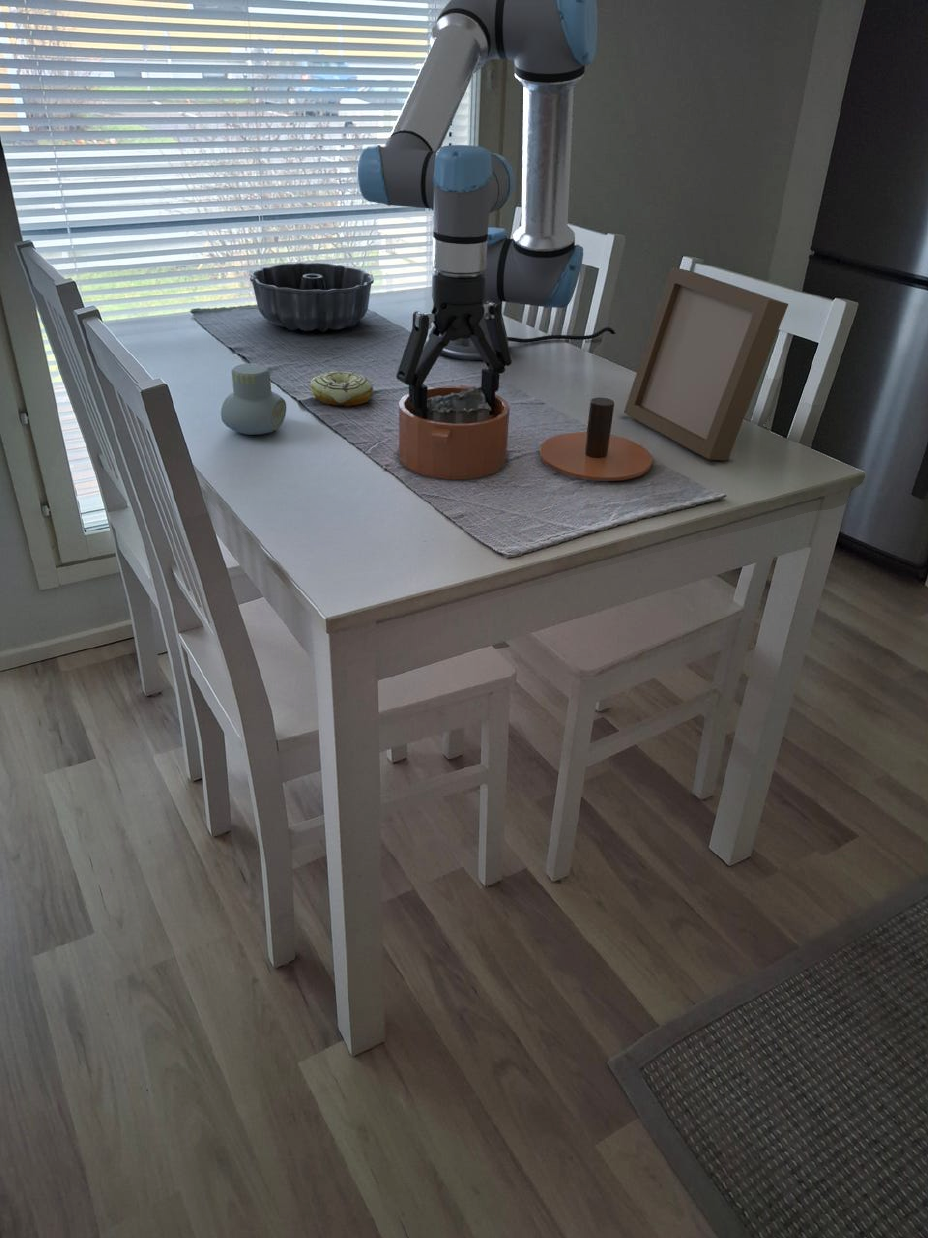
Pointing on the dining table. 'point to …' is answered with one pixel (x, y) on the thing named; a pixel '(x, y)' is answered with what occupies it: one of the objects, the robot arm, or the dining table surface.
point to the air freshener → (253, 402)
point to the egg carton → (459, 407)
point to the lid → (596, 449)
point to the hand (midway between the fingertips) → (454, 419)
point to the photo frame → (703, 361)
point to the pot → (453, 441)
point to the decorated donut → (341, 388)
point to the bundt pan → (312, 295)
